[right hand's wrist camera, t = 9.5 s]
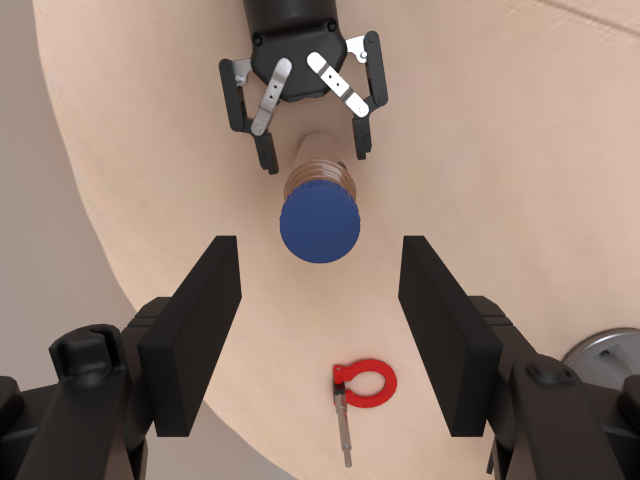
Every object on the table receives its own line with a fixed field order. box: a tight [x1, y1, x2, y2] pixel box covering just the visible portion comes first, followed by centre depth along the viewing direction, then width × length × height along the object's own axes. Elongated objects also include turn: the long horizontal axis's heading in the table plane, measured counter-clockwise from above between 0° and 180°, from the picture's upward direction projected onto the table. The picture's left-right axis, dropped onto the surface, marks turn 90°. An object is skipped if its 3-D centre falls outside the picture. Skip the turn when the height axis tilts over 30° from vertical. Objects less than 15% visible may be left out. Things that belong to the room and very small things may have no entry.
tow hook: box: [333, 360, 397, 468], centre depth 48 cm, size 8×13×9 cm
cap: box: [280, 179, 360, 263], centre depth 20 cm, size 4×4×2 cm
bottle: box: [284, 132, 356, 203], centre depth 30 cm, size 5×5×24 cm
